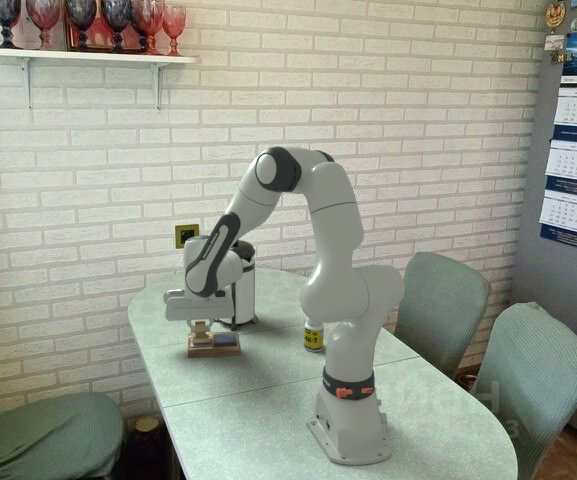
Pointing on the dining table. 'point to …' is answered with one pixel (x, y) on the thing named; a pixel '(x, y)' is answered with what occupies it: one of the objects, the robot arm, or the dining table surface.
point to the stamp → (200, 333)
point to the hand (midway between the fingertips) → (200, 331)
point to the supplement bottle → (313, 336)
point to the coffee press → (243, 286)
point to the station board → (215, 345)
